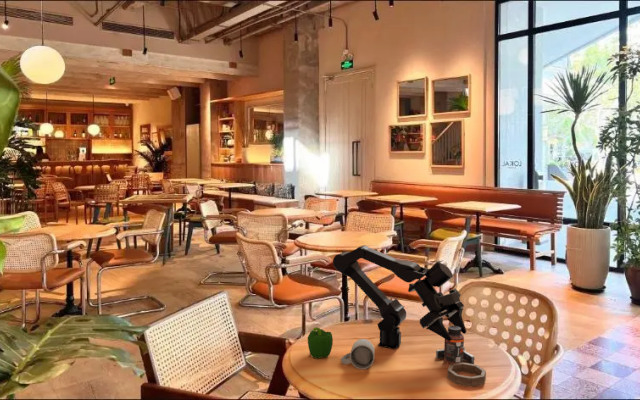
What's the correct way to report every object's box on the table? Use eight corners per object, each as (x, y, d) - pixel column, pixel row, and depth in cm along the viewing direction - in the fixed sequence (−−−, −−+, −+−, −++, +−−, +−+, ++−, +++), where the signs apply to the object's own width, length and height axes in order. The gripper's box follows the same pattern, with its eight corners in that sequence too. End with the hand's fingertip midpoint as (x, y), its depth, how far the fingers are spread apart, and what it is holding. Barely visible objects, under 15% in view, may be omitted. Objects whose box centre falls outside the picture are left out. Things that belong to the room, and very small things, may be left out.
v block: (473, 364, 162) (473, 357, 162) (435, 358, 167) (435, 350, 167) (477, 355, 170) (477, 348, 169) (440, 349, 175) (440, 342, 174)
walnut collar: (445, 382, 150) (445, 373, 150) (452, 368, 160) (452, 360, 159) (482, 389, 146) (482, 380, 146) (486, 374, 155) (487, 366, 155)
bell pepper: (327, 349, 174) (327, 320, 173) (336, 358, 167) (336, 329, 166) (303, 352, 171) (303, 323, 170) (311, 362, 164) (311, 332, 163)
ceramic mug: (374, 359, 166) (374, 336, 166) (374, 370, 158) (374, 345, 158) (341, 358, 168) (341, 335, 167) (340, 368, 160) (339, 344, 159)
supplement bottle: (463, 366, 161) (464, 331, 160) (444, 364, 162) (445, 330, 161) (462, 359, 167) (463, 325, 166) (443, 357, 168) (444, 323, 167)
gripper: (428, 287, 158) (459, 331, 152) (459, 276, 172) (489, 316, 165) (407, 306, 165) (436, 349, 158) (438, 295, 178) (466, 334, 171)
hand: (458, 336), depth 163 cm, fingers open, 9 cm apart
